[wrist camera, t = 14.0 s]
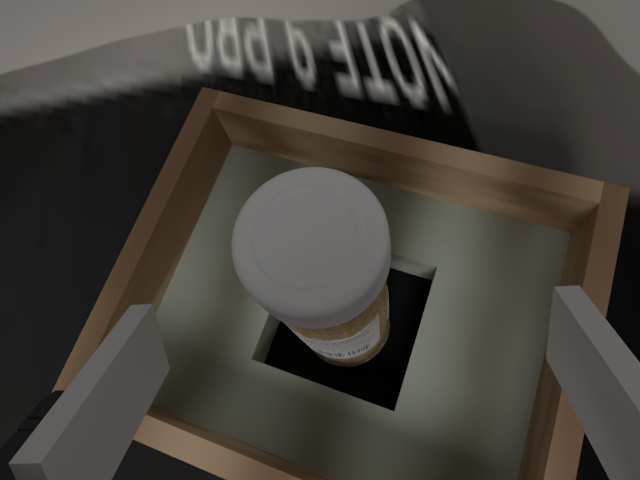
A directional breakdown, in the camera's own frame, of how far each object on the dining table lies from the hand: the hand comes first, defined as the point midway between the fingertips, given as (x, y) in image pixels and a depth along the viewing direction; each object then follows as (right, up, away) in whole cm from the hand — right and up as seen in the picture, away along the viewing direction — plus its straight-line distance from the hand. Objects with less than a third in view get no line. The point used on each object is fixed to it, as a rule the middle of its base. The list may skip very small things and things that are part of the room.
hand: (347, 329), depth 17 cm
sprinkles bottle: (0, -1, +10) cm, 10 cm away
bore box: (+1, -1, +10) cm, 10 cm away
